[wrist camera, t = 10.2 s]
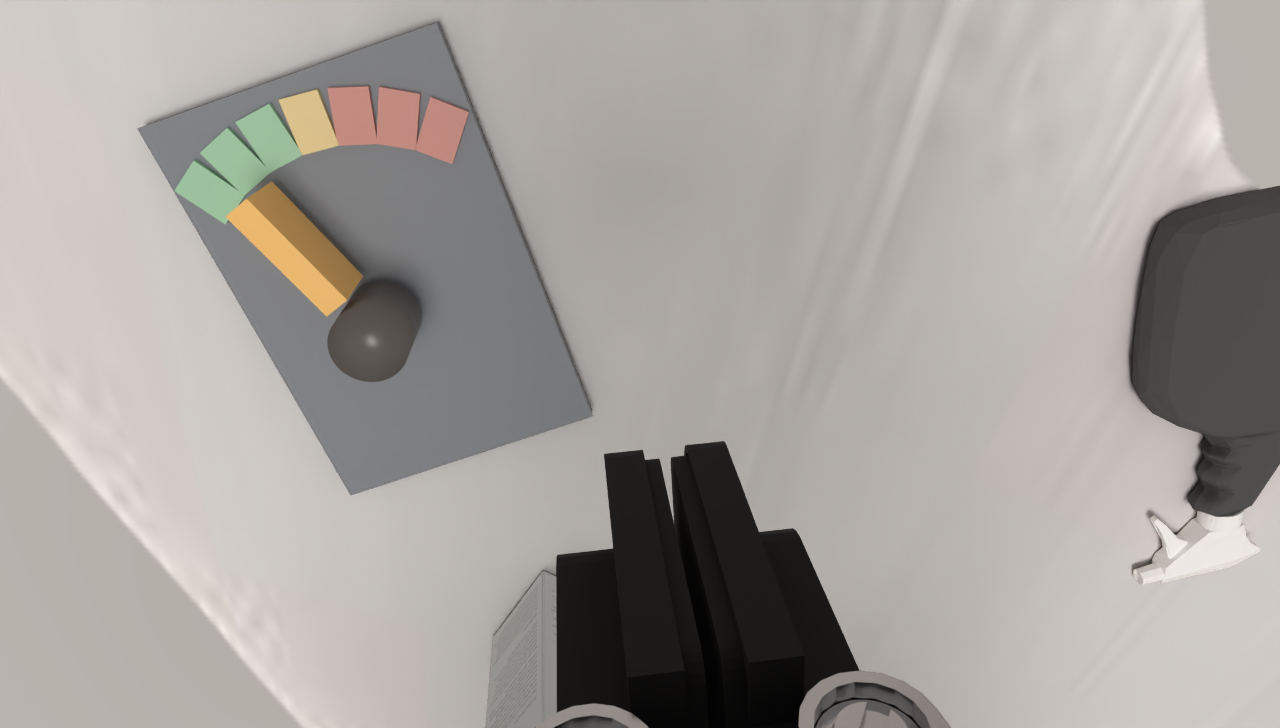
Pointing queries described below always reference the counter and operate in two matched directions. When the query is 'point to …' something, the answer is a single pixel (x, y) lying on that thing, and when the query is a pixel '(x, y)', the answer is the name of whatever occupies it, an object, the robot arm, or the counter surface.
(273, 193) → the dial knob with pointer
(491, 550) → the counter surface
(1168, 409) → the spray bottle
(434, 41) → the dial board
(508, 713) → the skincare box
